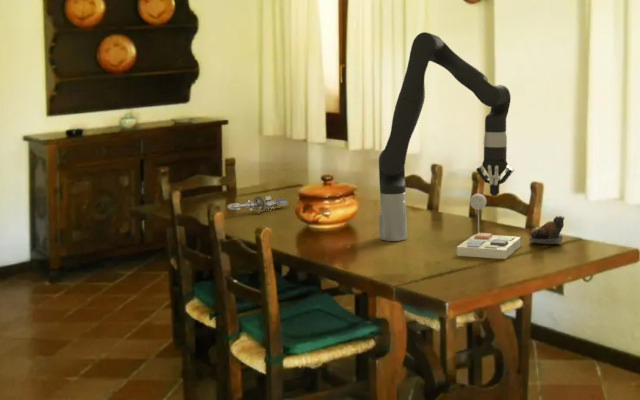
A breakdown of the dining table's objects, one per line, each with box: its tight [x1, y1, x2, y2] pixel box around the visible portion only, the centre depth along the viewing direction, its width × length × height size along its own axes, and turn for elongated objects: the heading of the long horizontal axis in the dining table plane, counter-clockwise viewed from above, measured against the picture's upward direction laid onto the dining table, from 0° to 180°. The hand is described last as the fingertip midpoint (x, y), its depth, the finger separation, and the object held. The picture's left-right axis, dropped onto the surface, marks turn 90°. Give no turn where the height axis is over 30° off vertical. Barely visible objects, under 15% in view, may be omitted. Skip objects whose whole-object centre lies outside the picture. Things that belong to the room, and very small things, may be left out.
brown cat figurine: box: [529, 215, 565, 245], centre depth 308 cm, size 12×7×10 cm, turn 56°
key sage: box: [499, 237, 514, 241], centre depth 306 cm, size 5×5×2 cm
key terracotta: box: [474, 232, 493, 240], centre depth 310 cm, size 5×5×2 cm
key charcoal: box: [490, 239, 508, 246], centre depth 299 cm, size 5×5×2 cm
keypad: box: [456, 233, 522, 260], centre depth 303 cm, size 16×20×3 cm
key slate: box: [467, 240, 485, 245], centre depth 303 cm, size 5×5×2 cm
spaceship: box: [226, 195, 290, 212], centre depth 387 cm, size 8×35×8 cm
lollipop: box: [469, 193, 487, 234], centre depth 327 cm, size 6×6×15 cm
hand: (494, 195), depth 306 cm, fingers closed
